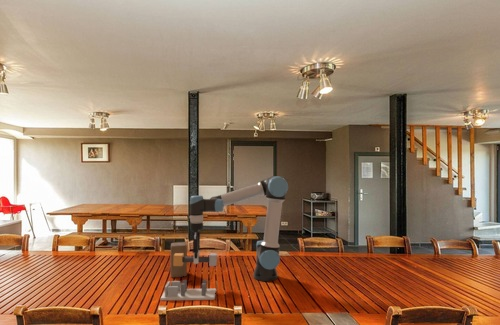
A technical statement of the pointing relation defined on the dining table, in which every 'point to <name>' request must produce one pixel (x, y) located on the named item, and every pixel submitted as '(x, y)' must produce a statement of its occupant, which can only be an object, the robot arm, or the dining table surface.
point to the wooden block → (182, 270)
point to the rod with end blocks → (180, 259)
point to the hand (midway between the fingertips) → (196, 262)
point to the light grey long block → (187, 292)
